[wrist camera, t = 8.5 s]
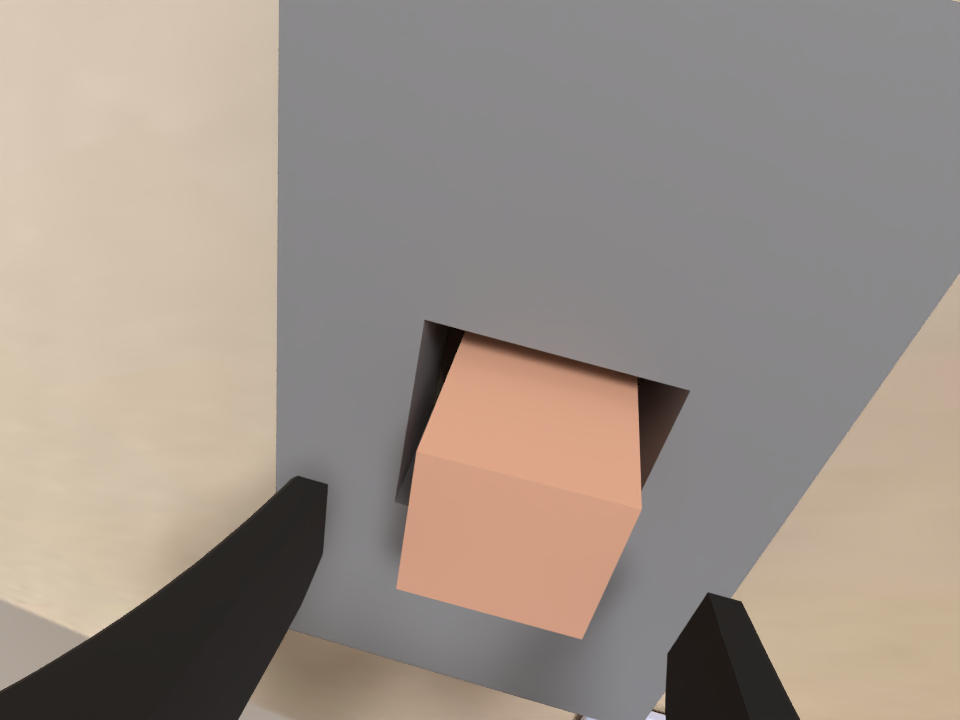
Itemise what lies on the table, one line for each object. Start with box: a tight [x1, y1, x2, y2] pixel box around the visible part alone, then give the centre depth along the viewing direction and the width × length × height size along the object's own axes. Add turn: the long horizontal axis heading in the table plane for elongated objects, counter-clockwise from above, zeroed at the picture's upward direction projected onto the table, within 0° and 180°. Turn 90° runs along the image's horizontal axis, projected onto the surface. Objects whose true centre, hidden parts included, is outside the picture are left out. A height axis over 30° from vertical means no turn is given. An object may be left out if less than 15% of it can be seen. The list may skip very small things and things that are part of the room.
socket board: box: [276, 0, 960, 720], centre depth 16 cm, size 20×12×4 cm, turn 169°
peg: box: [396, 331, 642, 639], centre depth 15 cm, size 4×4×7 cm
